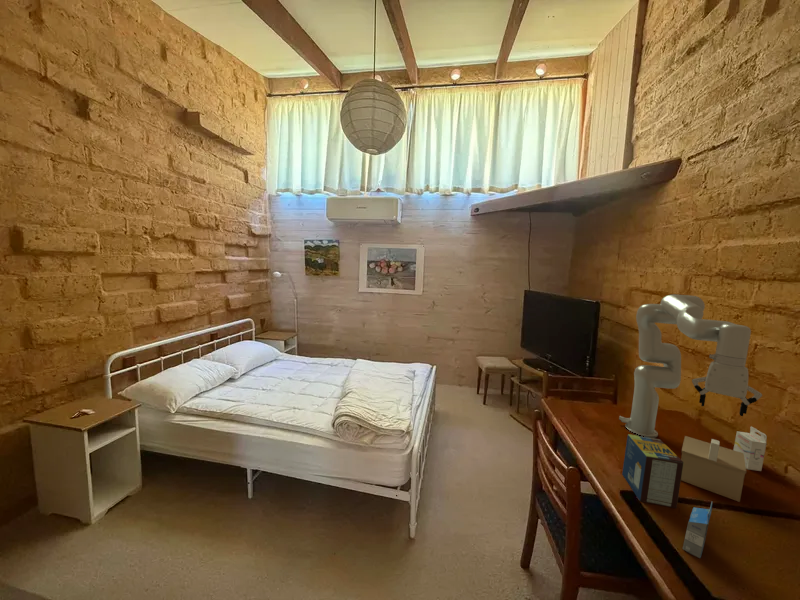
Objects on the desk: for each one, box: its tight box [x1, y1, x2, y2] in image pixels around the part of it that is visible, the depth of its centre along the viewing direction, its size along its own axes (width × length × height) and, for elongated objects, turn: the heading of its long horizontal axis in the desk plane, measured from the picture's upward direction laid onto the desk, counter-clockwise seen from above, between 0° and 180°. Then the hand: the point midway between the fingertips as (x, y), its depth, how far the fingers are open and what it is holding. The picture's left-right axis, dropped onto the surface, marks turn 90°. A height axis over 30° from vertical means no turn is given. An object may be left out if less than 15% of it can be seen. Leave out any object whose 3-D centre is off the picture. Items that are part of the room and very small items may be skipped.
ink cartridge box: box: [733, 425, 767, 472], centre depth 137 cm, size 9×5×15 cm, turn 168°
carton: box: [680, 453, 746, 503], centre depth 124 cm, size 16×16×10 cm
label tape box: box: [682, 502, 713, 559], centre depth 92 cm, size 9×4×12 cm, turn 133°
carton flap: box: [681, 435, 747, 475], centre depth 123 cm, size 16×16×7 cm
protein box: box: [621, 433, 684, 509], centre depth 116 cm, size 10×15×16 cm
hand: (721, 410), depth 117 cm, fingers open, 9 cm apart
